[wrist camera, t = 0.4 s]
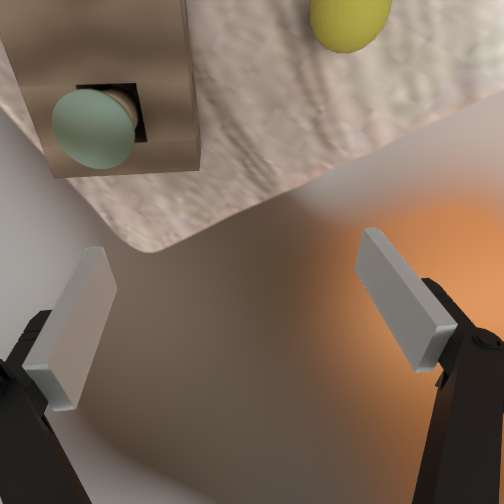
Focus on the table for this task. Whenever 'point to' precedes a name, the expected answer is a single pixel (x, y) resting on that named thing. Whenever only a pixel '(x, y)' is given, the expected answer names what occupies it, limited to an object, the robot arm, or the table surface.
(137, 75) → the socket block
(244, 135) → the table surface
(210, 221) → the table surface
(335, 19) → the yellow light bulb
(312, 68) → the table surface
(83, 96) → the plunger
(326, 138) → the table surface
